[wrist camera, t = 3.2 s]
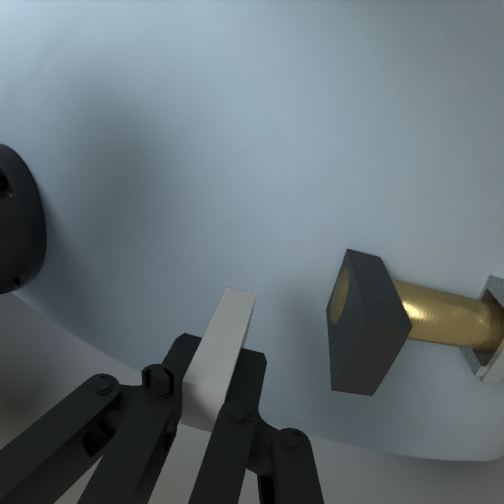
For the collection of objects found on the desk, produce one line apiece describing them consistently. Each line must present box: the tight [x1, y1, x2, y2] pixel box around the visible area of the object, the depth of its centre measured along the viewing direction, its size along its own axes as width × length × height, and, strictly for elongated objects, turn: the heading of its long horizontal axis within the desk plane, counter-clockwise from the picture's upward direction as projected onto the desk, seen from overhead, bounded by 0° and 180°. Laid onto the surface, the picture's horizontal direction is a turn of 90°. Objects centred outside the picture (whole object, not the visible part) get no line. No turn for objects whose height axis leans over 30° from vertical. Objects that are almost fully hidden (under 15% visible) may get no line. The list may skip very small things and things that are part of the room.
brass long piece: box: [326, 249, 504, 396], centre depth 17 cm, size 18×5×8 cm, turn 79°
